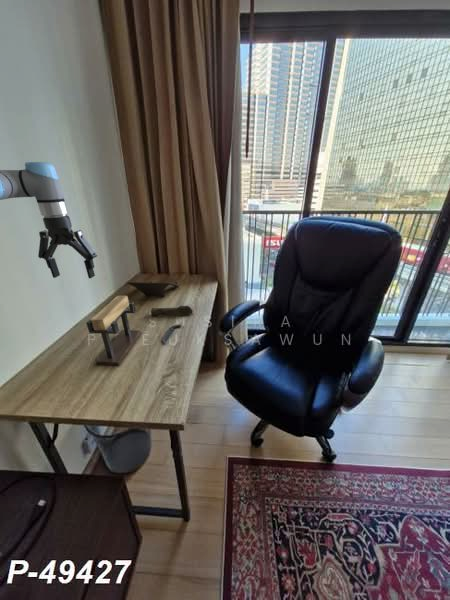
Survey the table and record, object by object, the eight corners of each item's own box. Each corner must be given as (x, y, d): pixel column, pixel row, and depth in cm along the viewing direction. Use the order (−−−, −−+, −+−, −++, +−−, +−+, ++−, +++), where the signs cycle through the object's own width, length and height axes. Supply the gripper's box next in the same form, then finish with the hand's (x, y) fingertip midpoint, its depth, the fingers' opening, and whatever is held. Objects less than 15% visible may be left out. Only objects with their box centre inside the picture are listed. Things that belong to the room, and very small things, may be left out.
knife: (173, 324, 110) (172, 323, 110) (181, 325, 110) (181, 324, 109) (159, 343, 98) (159, 342, 98) (169, 344, 97) (168, 343, 97)
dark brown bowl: (182, 297, 149) (182, 282, 149) (169, 297, 126) (170, 279, 126) (144, 296, 151) (145, 281, 151) (126, 295, 128) (126, 278, 128)
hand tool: (151, 318, 117) (149, 309, 114) (153, 313, 120) (152, 305, 118) (191, 317, 116) (191, 309, 114) (192, 313, 120) (192, 304, 118)
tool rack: (94, 364, 88) (82, 326, 81) (120, 332, 106) (112, 298, 99) (121, 365, 87) (110, 327, 80) (142, 333, 105) (136, 299, 98)
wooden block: (94, 332, 83) (91, 319, 81) (120, 306, 99) (117, 295, 97) (106, 332, 83) (102, 319, 80) (129, 307, 99) (127, 295, 96)
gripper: (98, 214, 84) (111, 273, 94) (29, 214, 86) (49, 272, 96) (85, 217, 77) (101, 281, 87) (10, 217, 80) (34, 280, 89)
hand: (74, 276), depth 91 cm, fingers open, 13 cm apart
